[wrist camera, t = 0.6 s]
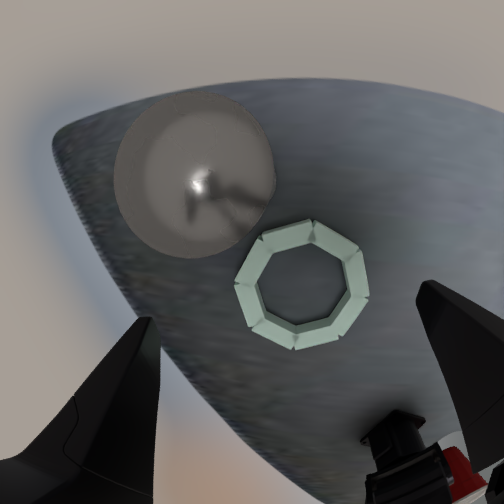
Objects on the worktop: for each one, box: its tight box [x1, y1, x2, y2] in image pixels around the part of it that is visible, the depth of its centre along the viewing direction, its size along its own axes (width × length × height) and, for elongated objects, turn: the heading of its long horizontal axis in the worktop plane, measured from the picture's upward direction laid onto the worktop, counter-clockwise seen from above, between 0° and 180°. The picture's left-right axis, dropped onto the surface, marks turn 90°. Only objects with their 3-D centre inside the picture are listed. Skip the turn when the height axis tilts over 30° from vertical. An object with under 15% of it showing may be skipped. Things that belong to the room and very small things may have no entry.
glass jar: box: [114, 91, 277, 259], centre depth 14 cm, size 5×5×13 cm
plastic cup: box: [442, 446, 488, 504], centre depth 21 cm, size 11×11×12 cm
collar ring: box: [234, 219, 370, 350], centre depth 21 cm, size 10×10×2 cm
